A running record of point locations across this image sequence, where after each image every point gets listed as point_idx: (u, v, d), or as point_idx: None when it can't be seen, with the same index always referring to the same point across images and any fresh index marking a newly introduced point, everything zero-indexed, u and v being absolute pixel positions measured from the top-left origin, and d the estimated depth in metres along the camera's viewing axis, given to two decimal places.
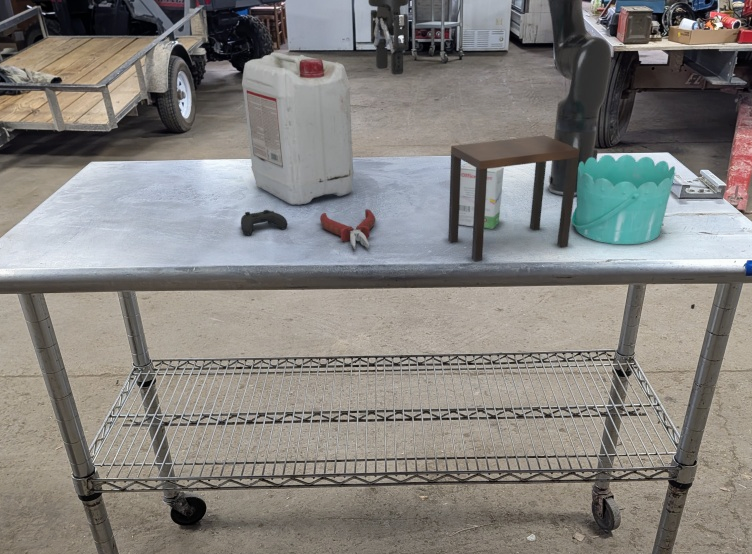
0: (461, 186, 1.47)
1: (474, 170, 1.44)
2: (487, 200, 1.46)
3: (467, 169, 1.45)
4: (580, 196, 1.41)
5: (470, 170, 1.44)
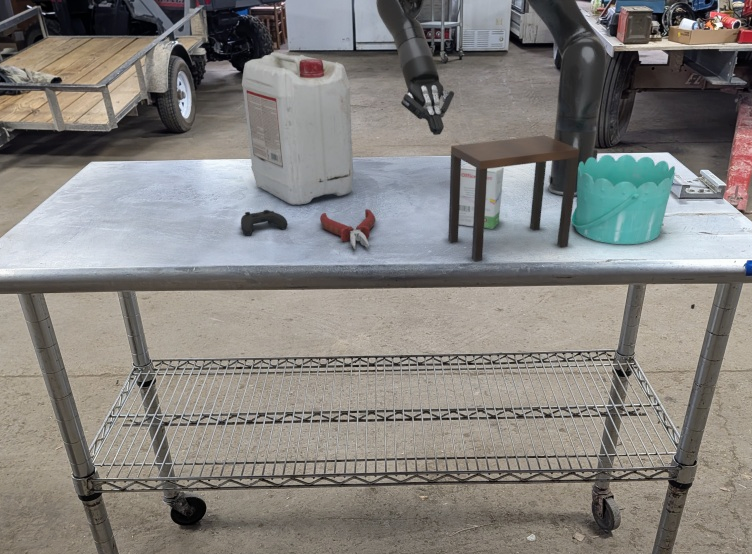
0: (461, 186, 1.47)
1: (474, 170, 1.44)
2: (487, 200, 1.46)
3: (467, 169, 1.45)
4: (580, 196, 1.41)
5: (470, 170, 1.44)
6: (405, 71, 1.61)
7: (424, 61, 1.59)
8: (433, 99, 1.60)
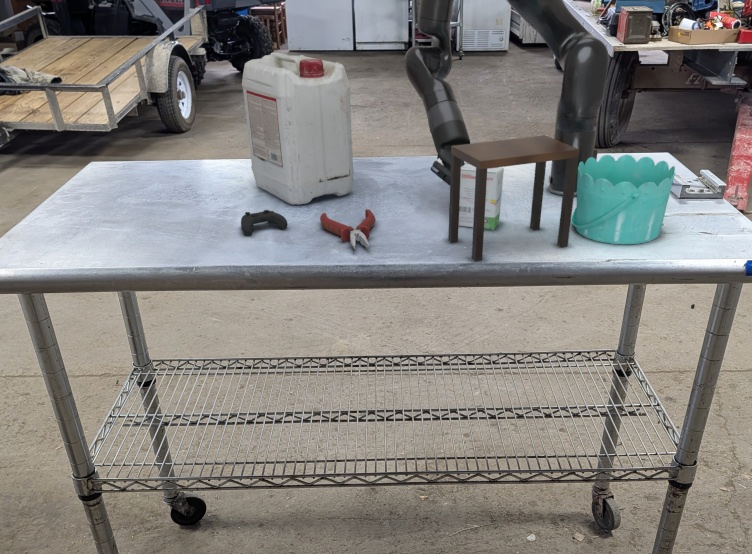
0: (461, 187, 1.46)
1: (475, 171, 1.43)
2: (488, 201, 1.45)
3: (467, 170, 1.44)
4: (580, 196, 1.41)
5: (471, 171, 1.44)
6: (434, 136, 1.54)
7: (454, 126, 1.52)
8: None
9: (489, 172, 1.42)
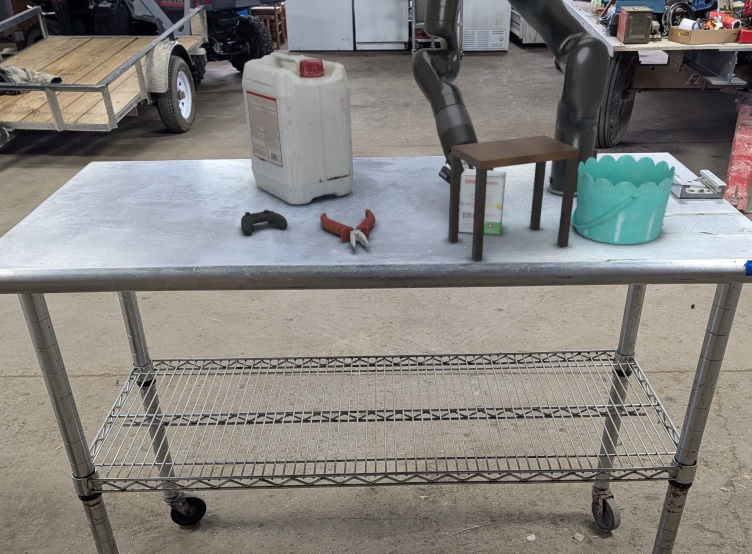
0: (465, 193, 1.43)
1: None
2: (493, 206, 1.43)
3: (471, 175, 1.41)
4: (580, 196, 1.41)
5: (475, 176, 1.41)
6: (443, 140, 1.51)
7: (463, 130, 1.49)
8: None
9: (494, 176, 1.40)
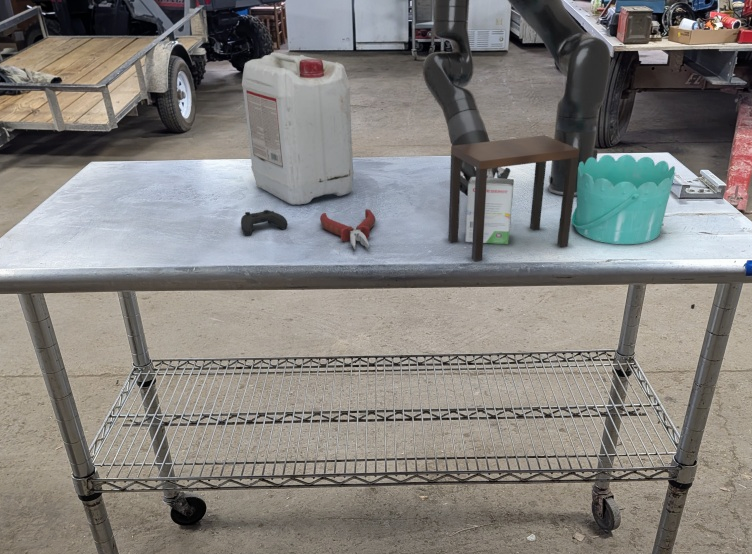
0: (473, 202, 1.38)
1: (487, 184, 1.36)
2: (502, 214, 1.38)
3: None
4: (580, 196, 1.41)
5: None
6: None
7: (477, 136, 1.43)
8: None
9: (503, 184, 1.35)
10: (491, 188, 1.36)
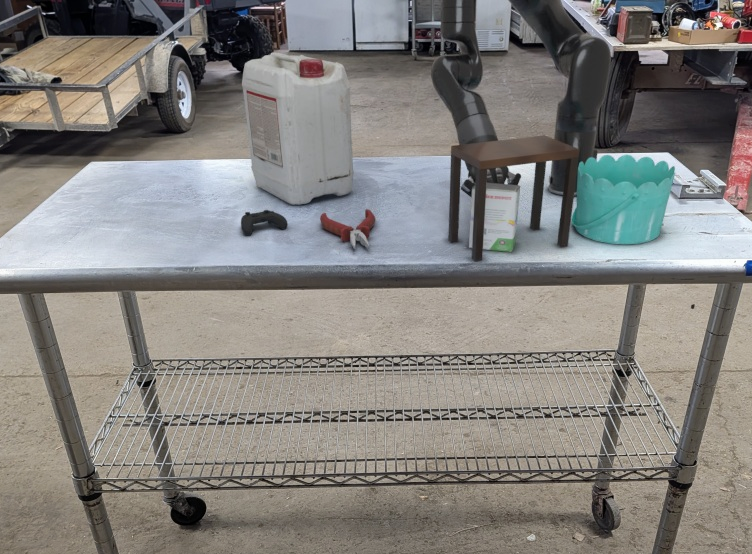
0: None
1: (491, 190, 1.32)
2: (506, 221, 1.34)
3: None
4: (580, 196, 1.41)
5: (486, 190, 1.33)
6: None
7: (487, 141, 1.40)
8: None
9: (507, 191, 1.32)
10: (494, 194, 1.33)
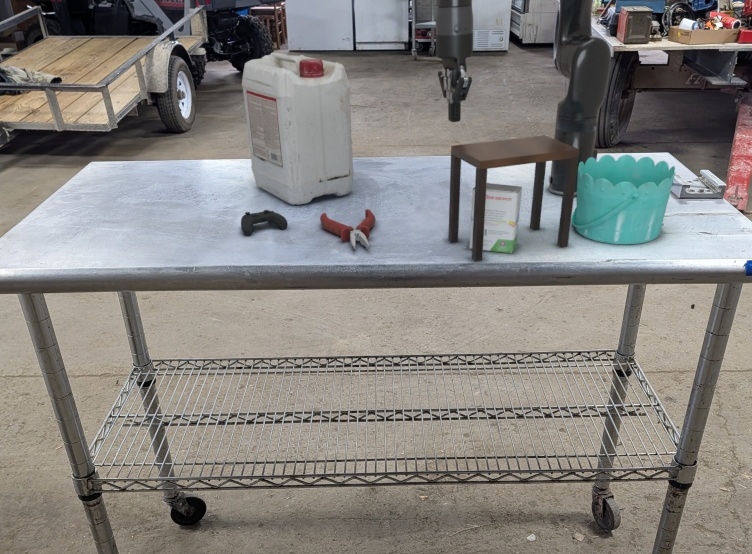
0: None
1: (491, 190, 1.32)
2: (506, 222, 1.34)
3: None
4: (580, 196, 1.41)
5: (487, 191, 1.32)
6: (463, 42, 1.42)
7: None
8: None
9: (507, 192, 1.31)
10: (495, 195, 1.32)
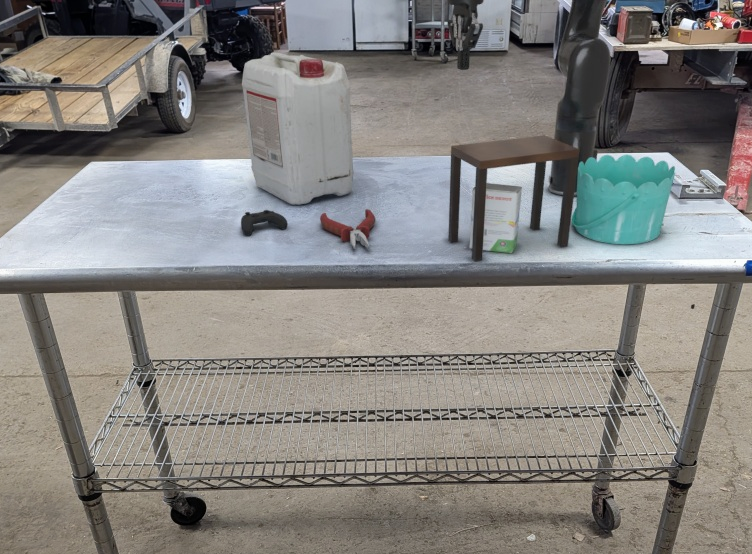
0: None
1: (491, 190, 1.32)
2: (506, 222, 1.34)
3: None
4: (580, 196, 1.41)
5: (487, 191, 1.32)
6: None
7: None
8: None
9: (507, 192, 1.31)
10: (495, 195, 1.32)
